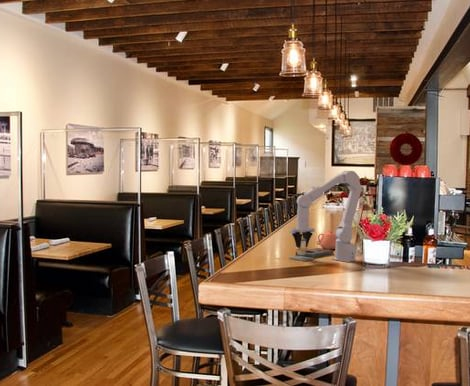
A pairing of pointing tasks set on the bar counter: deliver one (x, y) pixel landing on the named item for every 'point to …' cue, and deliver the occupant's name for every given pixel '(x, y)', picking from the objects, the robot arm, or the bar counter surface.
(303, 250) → the plug
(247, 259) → the bar counter surface
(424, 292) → the bar counter surface
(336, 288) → the bar counter surface
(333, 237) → the sugar bowl
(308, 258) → the mat
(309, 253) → the grey lever panel
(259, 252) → the bar counter surface
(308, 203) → the robot arm
